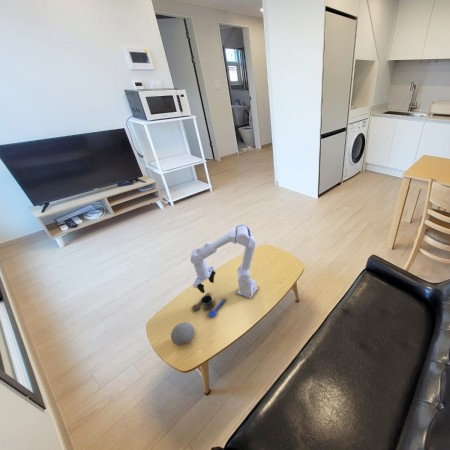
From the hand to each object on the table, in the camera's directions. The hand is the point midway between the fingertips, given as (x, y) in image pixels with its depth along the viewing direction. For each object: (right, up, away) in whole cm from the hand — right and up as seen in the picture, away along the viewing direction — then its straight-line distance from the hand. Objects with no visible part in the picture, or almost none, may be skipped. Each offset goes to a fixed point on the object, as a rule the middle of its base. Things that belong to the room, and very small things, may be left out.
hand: (207, 287), depth 131 cm
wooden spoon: (-4, -9, +2) cm, 10 cm away
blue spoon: (+6, -12, -1) cm, 13 cm away
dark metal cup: (+1, -10, 0) cm, 10 cm away
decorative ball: (-4, -21, -16) cm, 27 cm away
